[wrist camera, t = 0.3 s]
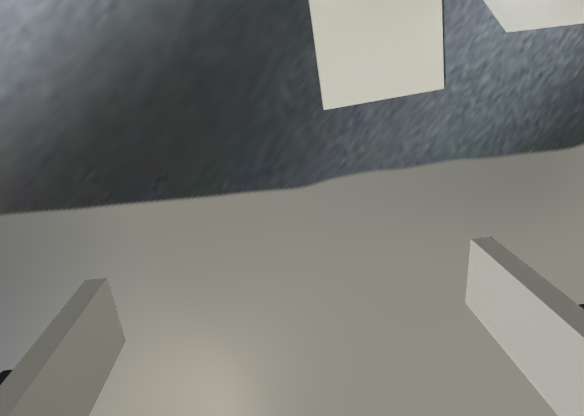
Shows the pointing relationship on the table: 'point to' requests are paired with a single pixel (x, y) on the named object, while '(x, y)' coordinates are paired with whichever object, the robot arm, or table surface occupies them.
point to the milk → (536, 13)
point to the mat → (377, 49)
